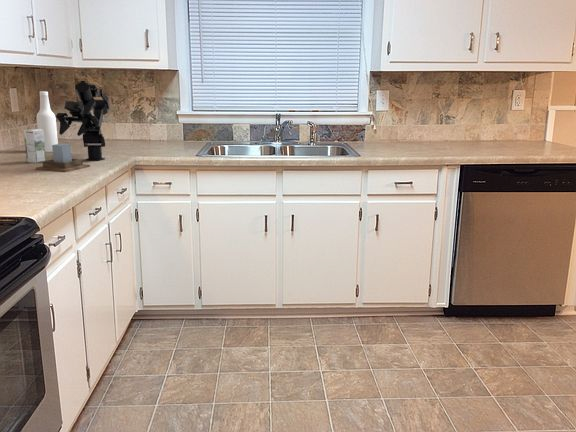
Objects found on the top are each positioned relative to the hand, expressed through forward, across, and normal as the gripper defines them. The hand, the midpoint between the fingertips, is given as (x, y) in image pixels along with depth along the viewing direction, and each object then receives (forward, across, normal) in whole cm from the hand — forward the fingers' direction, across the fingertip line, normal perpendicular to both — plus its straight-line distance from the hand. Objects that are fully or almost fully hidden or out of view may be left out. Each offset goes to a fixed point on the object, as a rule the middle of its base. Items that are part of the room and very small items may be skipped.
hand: (69, 134), depth 218 cm
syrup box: (+7, -22, +12) cm, 26 cm away
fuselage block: (+12, 0, +6) cm, 14 cm away
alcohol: (-14, -42, +33) cm, 55 cm away
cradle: (+13, 0, +6) cm, 14 cm away
